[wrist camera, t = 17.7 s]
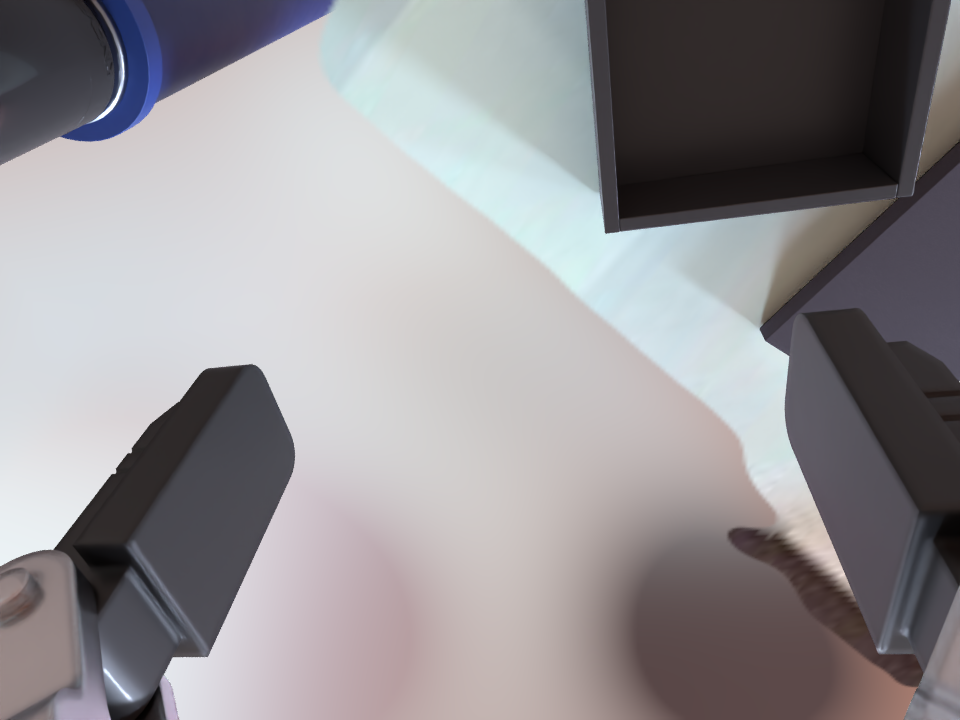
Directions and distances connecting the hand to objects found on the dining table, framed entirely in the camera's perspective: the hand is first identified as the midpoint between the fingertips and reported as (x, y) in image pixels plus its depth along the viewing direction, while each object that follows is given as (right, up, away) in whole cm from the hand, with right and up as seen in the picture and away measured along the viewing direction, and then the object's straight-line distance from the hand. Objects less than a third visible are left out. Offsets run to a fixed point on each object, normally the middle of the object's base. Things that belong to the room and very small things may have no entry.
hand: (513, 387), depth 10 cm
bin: (+13, +19, +25) cm, 34 cm away
